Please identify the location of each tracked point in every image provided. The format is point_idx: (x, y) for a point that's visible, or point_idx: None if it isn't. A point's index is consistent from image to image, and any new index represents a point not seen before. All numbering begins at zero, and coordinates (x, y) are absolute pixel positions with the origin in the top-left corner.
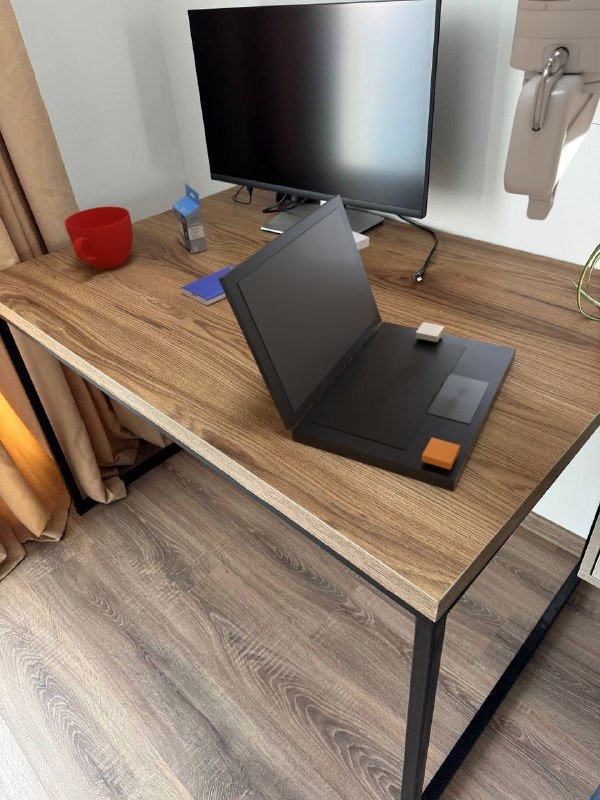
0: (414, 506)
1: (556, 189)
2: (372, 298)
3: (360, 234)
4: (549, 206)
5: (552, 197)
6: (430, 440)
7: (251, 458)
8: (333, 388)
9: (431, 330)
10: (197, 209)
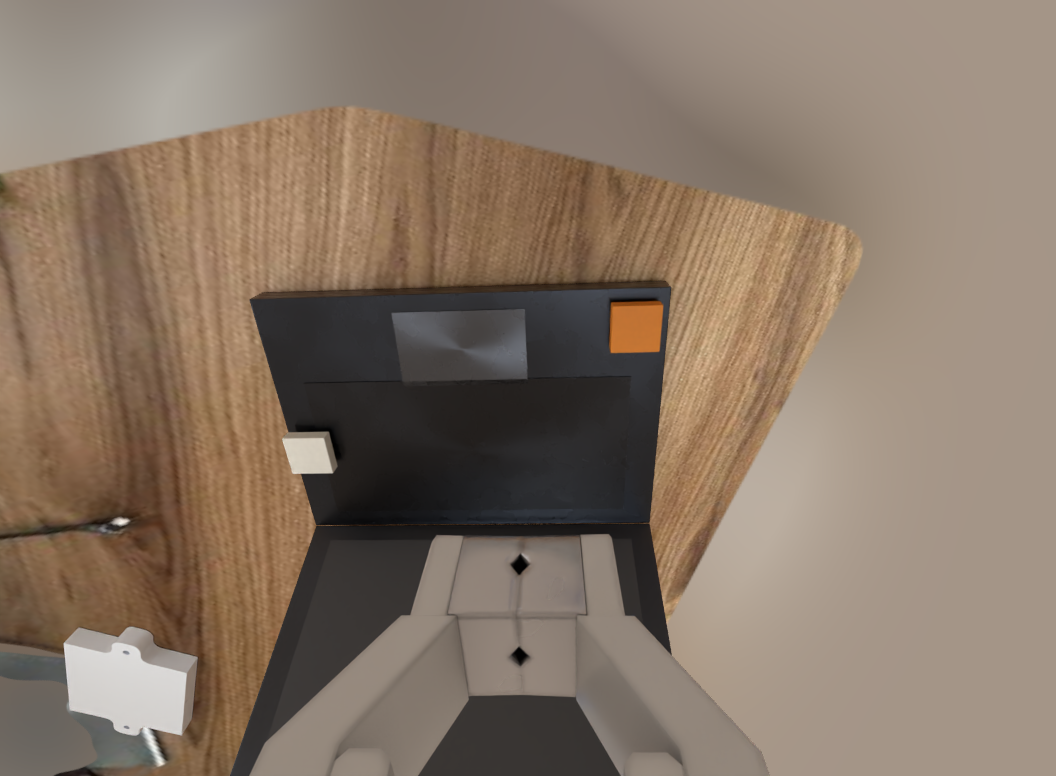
0: (715, 320)
1: (411, 624)
2: (307, 573)
3: (66, 657)
4: (593, 579)
5: (522, 608)
6: (619, 352)
7: (698, 534)
8: (534, 515)
9: (311, 453)
10: None
